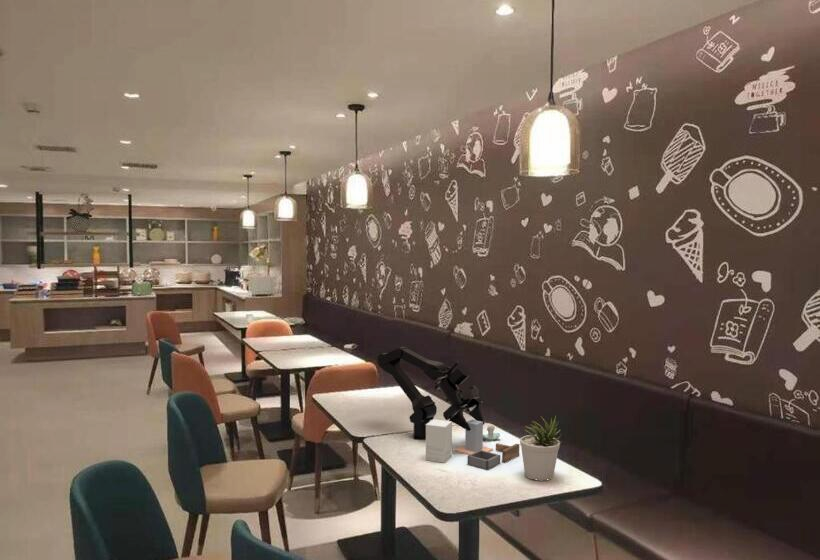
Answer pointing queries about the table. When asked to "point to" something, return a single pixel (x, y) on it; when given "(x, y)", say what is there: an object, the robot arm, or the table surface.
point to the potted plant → (540, 451)
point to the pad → (462, 450)
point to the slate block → (474, 436)
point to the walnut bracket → (508, 451)
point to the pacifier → (491, 434)
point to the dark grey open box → (483, 459)
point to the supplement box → (439, 440)
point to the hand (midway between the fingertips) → (476, 427)
